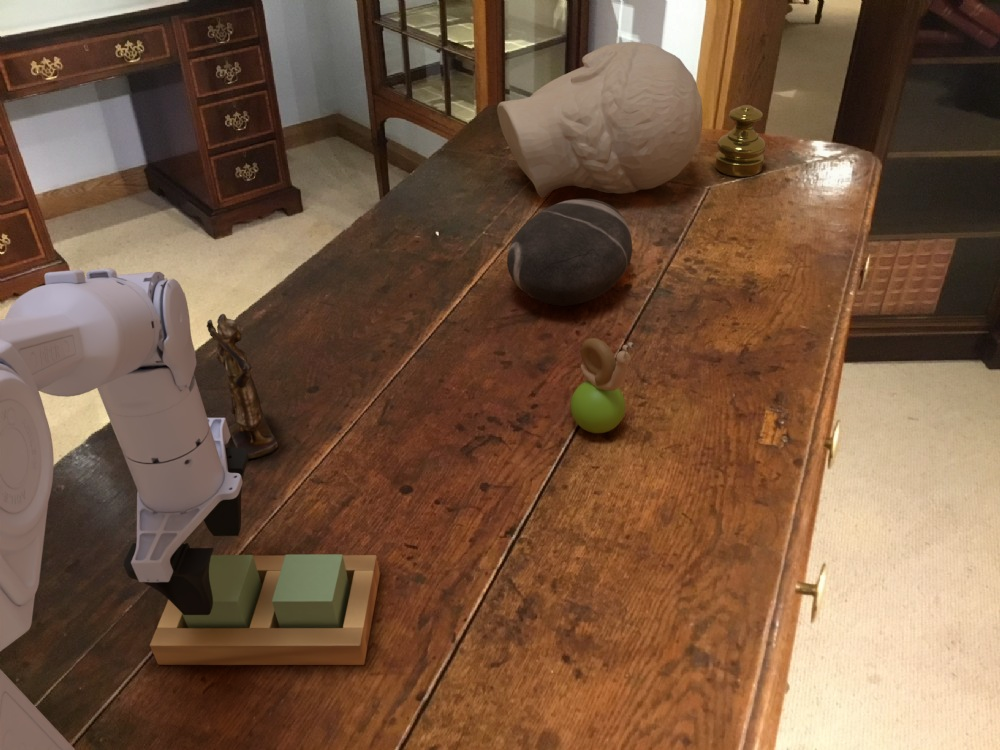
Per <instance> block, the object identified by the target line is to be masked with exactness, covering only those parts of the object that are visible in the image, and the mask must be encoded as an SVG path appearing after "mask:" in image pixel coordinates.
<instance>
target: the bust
mask: <svg viewBox="0 0 1000 750" xmlns="http://www.w3.org/2000/svg"><path fill="white" fill-rule="evenodd" d="M581 62H582V64H583V66H581V67H579V68H576V69H574V70H572V71H570V72H569V71H568V73H565V74H563V75H560V76H559V77H557V78H555V79H553V80H551V81H549V82H548V83H546V84H545V85H543V86H542V87H540V88H539V89H537V90H536V91H534V92H533V93H532V94H531V95H530V96H528V97H525V98H519V99H511V100H504V101H500V102H499V103H498V105H497V107H496V112H497V117H498V121H499V125H500V129H501V132H502V135H503V137H504V139H505V142H506V143H507V146H508V148H509V150H510V153H511V155H512V157H513V159H514V160H515V162H516V164H517V166H518V167H519V169H520V170H522V172H523V173H524V175H526V177H527V178H528V179H529V180H530V181H531V183H532V184H533V186H534V188H535V191H536V193H537V195H538V196H539V197H540V198H541V199H544V198H545V197H546V196H547V195H548V194H550V193H551V192H552V191H554V190H558V189H560V188H565V187H571V186H573V187H577V188H582V189H591V190H594V191H599V192H603V193H606V194H618V195H622V194H629V193H636V192H639V191H640V190H651V189H654V188H658V187H659V186H661V185H663V184H665V183H667V182H669V181H671V180H673V179H674V178H676V177H677V176H678V175H680V173H681V172H682V171H683V170H684V168H685V167H686V166H687V165H688V164H689V163H690V162H691V161H692V159H693V158H694V155H695V153H696V149H697V147H698V145H699V143H700V141H701V137H702V130H703V113H704V112H703V102H702V96H701V94H700V91H699V89H698V84H697V81H696V78H695V77H694V75H693V74H692V72H691V71H690V70H689V69H688V68H687V66H686V65H685V63H684V62H683V61H682V60H681V59H680V57H678V56H676V55H675V54H673V53H671V52H669V51H667V50H665V49H663V48H662V47H660V46H659V45H655V44H652V43H642V42H637V41H624V42H622V41H621V42H617V43H616V42H615V43H611V44H607V45H603V46H601V47H599V48H597V49H595V50H593V51H591V52H589V53H586V54H585V55H584V56H582V59H581Z"/></svg>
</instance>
